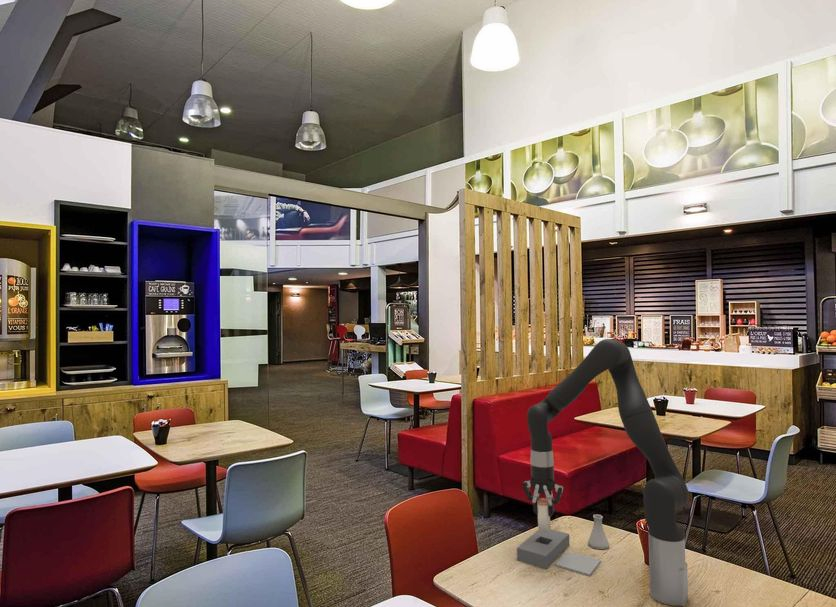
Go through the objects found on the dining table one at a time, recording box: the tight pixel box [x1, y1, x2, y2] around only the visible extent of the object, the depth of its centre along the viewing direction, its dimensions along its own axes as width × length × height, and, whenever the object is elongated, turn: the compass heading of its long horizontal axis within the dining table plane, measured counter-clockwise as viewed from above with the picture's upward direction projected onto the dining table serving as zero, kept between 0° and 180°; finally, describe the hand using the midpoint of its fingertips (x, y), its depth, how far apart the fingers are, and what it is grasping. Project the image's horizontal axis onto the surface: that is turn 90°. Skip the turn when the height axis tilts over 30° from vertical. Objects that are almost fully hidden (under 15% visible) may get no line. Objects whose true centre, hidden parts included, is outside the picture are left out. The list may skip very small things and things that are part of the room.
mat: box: [554, 550, 602, 577], centre depth 162 cm, size 11×11×1 cm
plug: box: [537, 497, 551, 533], centre depth 170 cm, size 4×4×10 cm
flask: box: [587, 514, 610, 550], centre depth 175 cm, size 7×7×10 cm
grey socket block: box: [516, 528, 571, 570], centre depth 170 cm, size 10×20×4 cm, turn 143°
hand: (543, 514), depth 170 cm, fingers closed on plug, 4 cm apart
